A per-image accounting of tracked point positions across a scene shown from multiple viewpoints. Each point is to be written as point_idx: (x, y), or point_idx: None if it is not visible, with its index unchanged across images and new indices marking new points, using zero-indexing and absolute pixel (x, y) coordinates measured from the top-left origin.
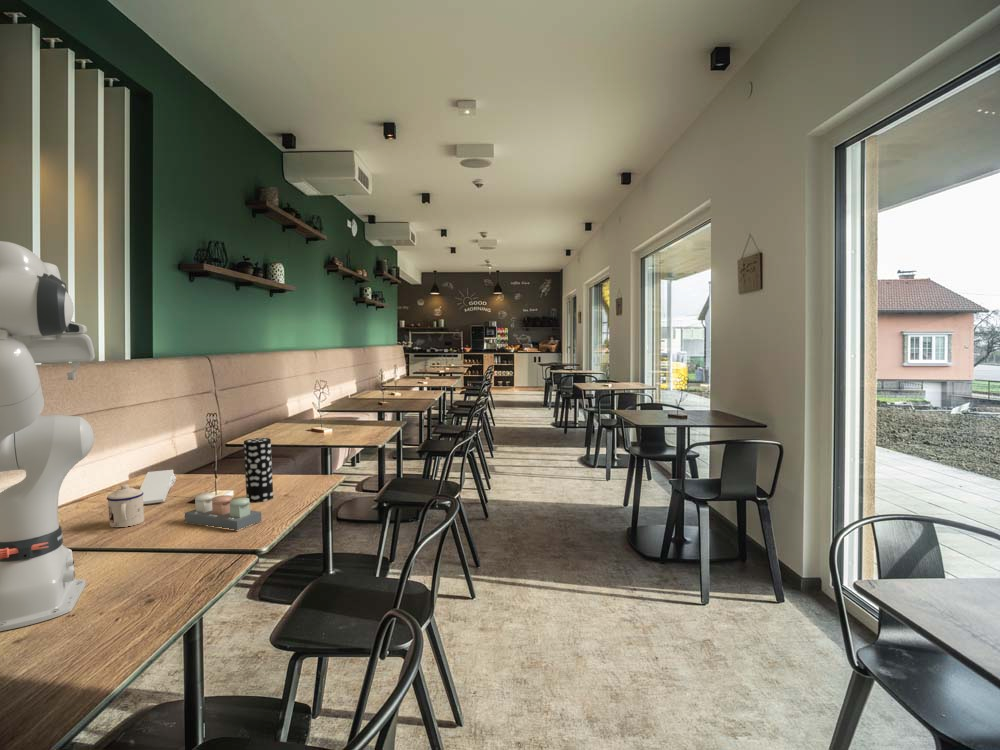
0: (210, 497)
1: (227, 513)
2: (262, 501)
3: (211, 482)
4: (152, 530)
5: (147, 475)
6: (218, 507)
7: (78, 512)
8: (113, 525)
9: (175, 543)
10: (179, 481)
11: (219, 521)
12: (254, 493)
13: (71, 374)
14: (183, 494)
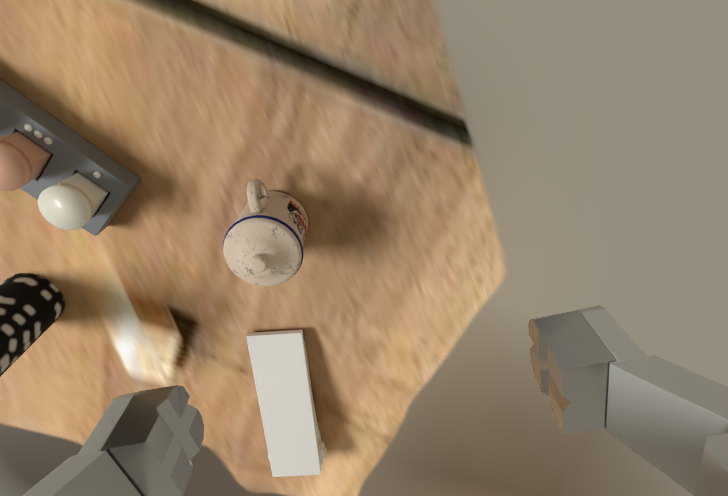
0: (42, 191)
1: None
2: (17, 274)
3: None
4: (196, 147)
5: (315, 458)
6: (15, 144)
7: (404, 328)
8: (292, 198)
9: (93, 17)
10: None
11: (15, 102)
12: (19, 286)
13: (111, 431)
14: (229, 377)
